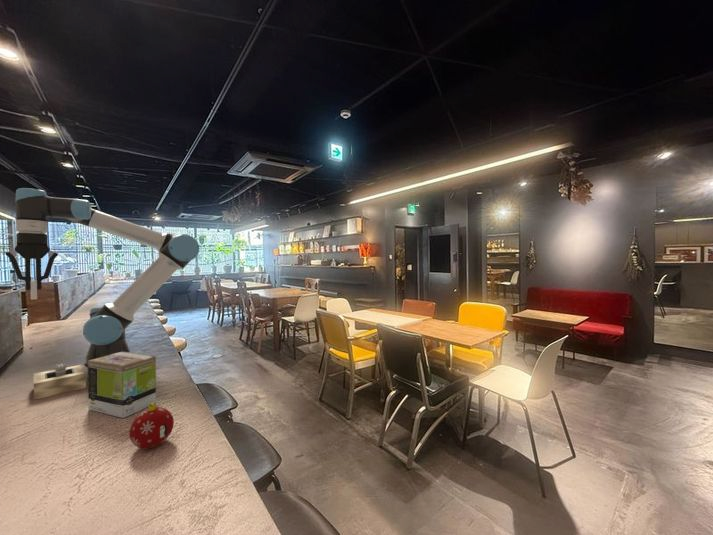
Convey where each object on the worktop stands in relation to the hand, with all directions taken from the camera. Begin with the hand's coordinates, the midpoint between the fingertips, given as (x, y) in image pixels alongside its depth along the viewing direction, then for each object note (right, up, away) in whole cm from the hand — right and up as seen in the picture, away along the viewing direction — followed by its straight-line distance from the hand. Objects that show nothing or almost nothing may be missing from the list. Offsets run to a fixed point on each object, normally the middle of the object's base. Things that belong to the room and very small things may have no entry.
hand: (33, 298), depth 106 cm
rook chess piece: (+15, -30, -6) cm, 34 cm away
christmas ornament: (+68, -31, -36) cm, 83 cm away
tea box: (+46, -30, -18) cm, 58 cm away
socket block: (+15, -30, -6) cm, 34 cm away
